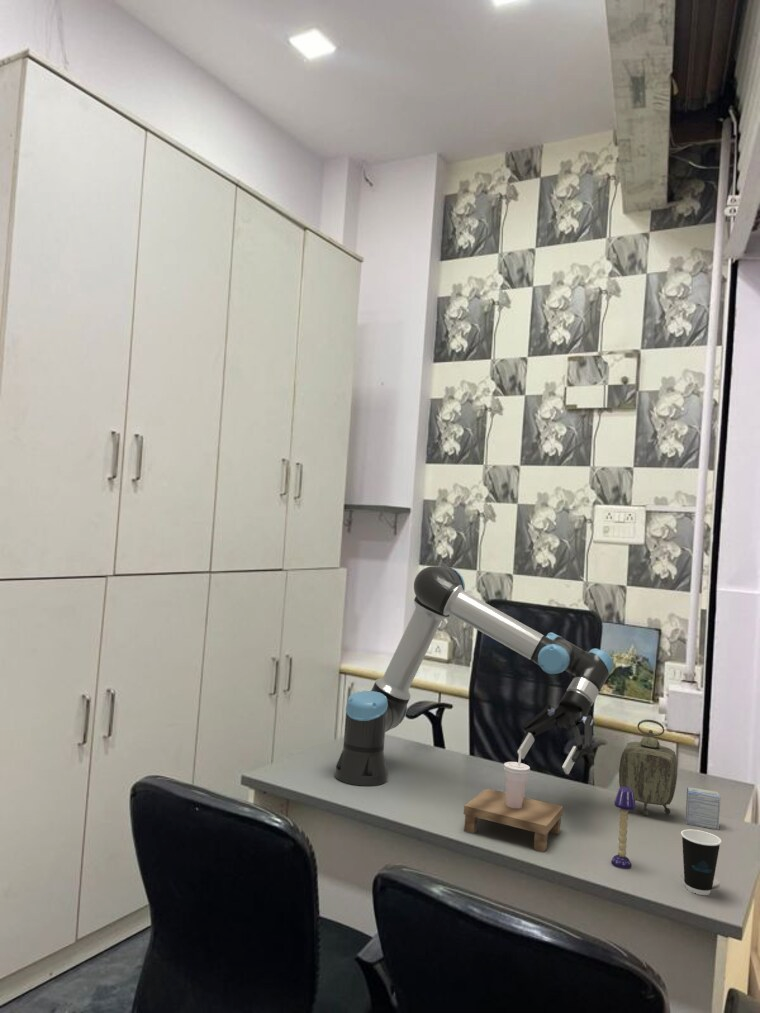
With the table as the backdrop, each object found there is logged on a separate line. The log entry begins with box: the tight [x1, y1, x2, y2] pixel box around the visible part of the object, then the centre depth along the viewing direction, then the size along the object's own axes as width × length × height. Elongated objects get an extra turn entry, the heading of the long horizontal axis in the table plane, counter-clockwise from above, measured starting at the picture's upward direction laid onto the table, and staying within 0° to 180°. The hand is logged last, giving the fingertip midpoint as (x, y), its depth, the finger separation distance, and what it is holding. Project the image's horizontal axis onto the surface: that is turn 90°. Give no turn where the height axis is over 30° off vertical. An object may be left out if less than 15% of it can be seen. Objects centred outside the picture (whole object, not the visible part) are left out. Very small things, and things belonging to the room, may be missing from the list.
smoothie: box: [503, 747, 531, 809], centre depth 182 cm, size 6×6×14 cm
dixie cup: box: [680, 828, 723, 896], centre depth 157 cm, size 8×8×11 cm
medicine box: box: [685, 786, 721, 830], centre depth 197 cm, size 8×4×9 cm, turn 71°
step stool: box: [463, 788, 564, 853], centre depth 181 cm, size 20×16×6 cm
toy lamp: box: [610, 786, 637, 869], centre depth 167 cm, size 5×5×17 cm
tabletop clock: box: [618, 719, 678, 817], centre depth 202 cm, size 14×9×25 cm, turn 65°
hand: (541, 763), depth 189 cm, fingers open, 13 cm apart
